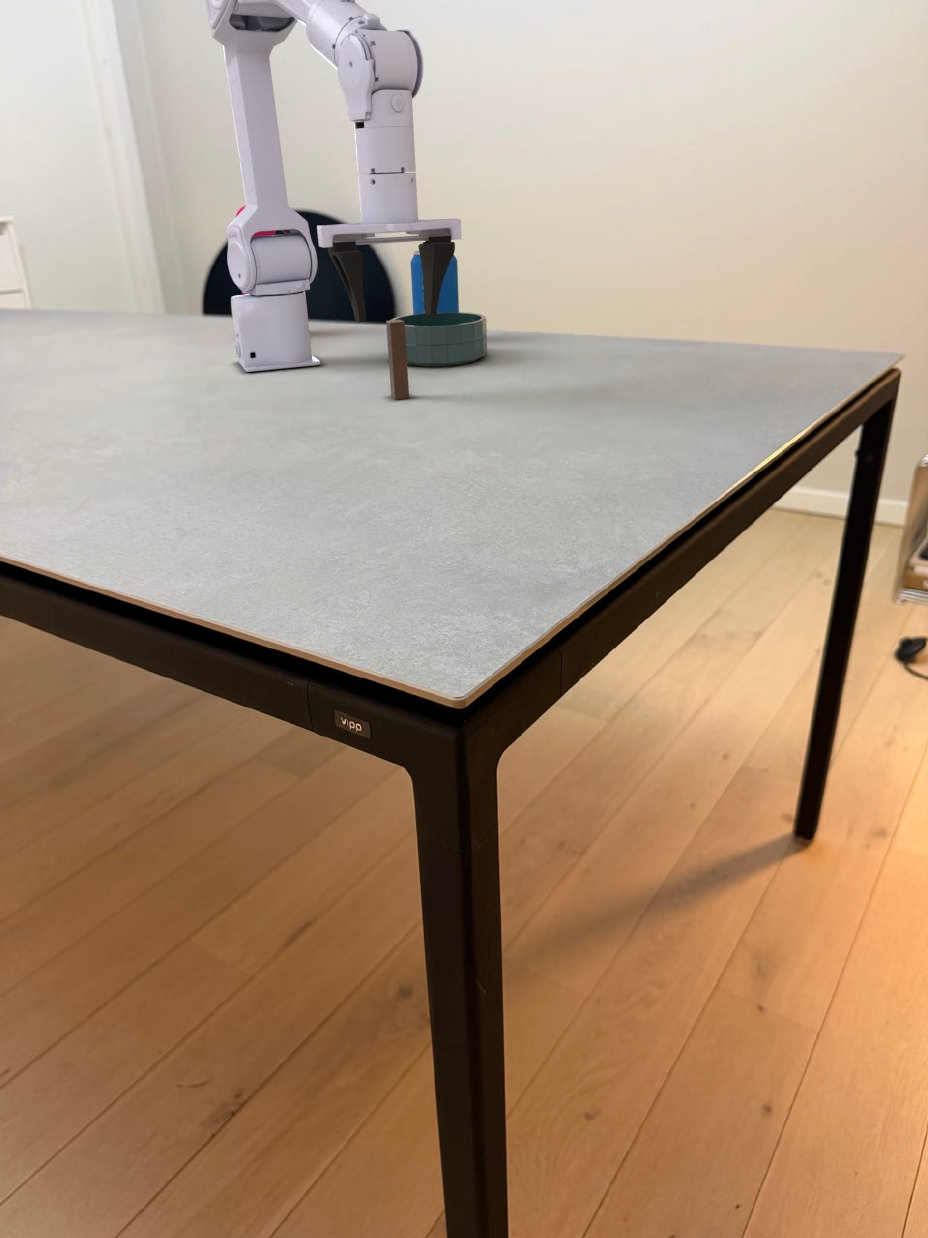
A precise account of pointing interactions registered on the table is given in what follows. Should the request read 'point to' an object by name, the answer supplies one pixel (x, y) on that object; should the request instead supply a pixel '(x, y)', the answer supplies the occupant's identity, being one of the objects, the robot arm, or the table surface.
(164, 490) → the table surface
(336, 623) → the table surface
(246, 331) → the robot arm
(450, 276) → the beverage can
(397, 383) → the stirring stick
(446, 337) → the bowl
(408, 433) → the table surface
